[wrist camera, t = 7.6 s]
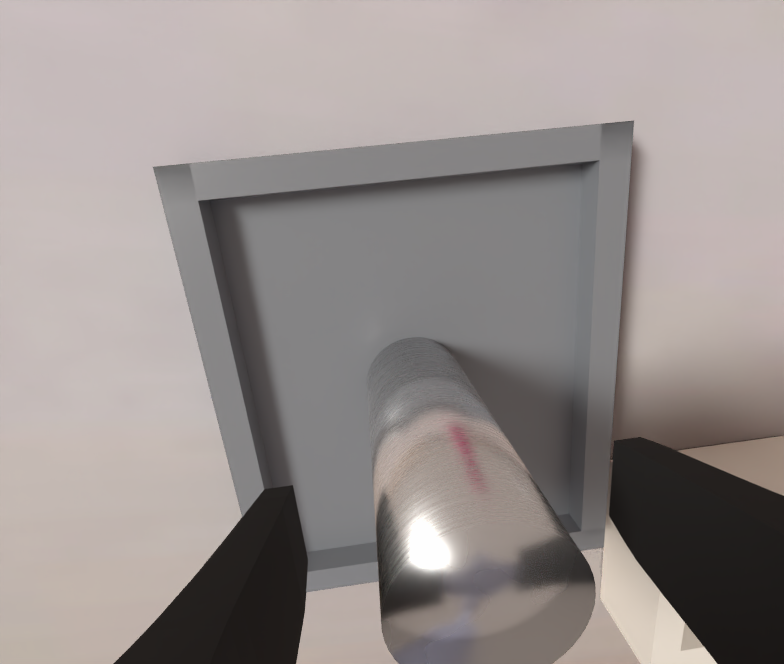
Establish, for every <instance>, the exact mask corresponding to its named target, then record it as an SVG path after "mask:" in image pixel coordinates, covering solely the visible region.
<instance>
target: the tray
mask: <svg viewBox="0 0 784 664" xmlns="http://www.w3.org/2000/svg"><path fill="white" fill-rule="evenodd" d="M633 127H634V121H626V122H615V123H605V124H595V125H584V126H574V127H563V128H553V129H543V130H532V131H522V132H511V133H501V134H491V135H480V136H470V137H459V138H449V139H439V140H428V141H418V142H407V143H397V144H387V145H376V146H366V147H355V148H345V149H335V150H324V151H314V152H304V153H293V154H283V155H272V156H262V157H252V158H241V159H231V160H220V161H210V162H200V163H189V164H179V165H168V166H158V167H153V169H154V173H155V176H156V180H157V184H158V188H159V192H160V196H161V200H162V204H163V208H164V212H165V216H166V220H167V224H168V228H169V231H170V235H171V239H172V243H173V247H174V251H175V255H176V259H177V263H178V267H179V271H180V275H181V279H182V283H183V286H184V290H185V294H186V298H187V302H188V306H189V310H190V314H191V318H192V322H193V326H194V330H195V334H196V337H197V341H198V345H199V349H200V353H201V357H202V361H203V365H204V369H205V373H206V377H207V381H208V385H209V389H210V392H211V396H212V400H213V404H214V408H215V412H216V416H217V420H218V424H219V428H220V432H221V436H222V440H223V443H224V447H225V451H226V455H227V459H228V463H229V467H230V471H231V475H232V479H233V483H234V487H235V491H236V495H237V498H238V502H239V506H240V510H241V514H242V517H243V516H244V514H245V513H246V512H247V510H248V509H249V508H250V507H251V505H252V504H253V503H254V501H255V500H256V499H257V498H258V497H259V495H260V494H261V493H262V492H263V490H264V489H269V488H276V487H283V486H290V485H293V488H294V493H295V498H296V503H297V508H298V513H299V518H300V522H301V527H302V532H303V537H304V542H305V547H306V552H307V557H308V570H307V587H306V592H311V591H317V590H324V589H331V588H337V587H344V586H351V585H357V584H364V583H370V582H377V581H379V576H378V559H377V542H376V526H375V509H374V493H373V476H372V460H371V443H370V427H369V410H368V394H367V376H368V372H369V369H370V366H371V364H372V362H373V360H374V359H375V358H376V356H377V355H378V354H379V353H380V352H381V351H382V350H383V349H384V348H385V347H387V346H388V345H390V344H392V343H394V342H396V341H398V340H401V339H405V338H411V337H422V338H428V339H431V340H434V341H436V342H438V343H440V344H442V345H443V346H445V347H446V348H447V349H448V350H449V351H450V352H451V353H452V354H453V356H454V357H455V359H456V360H457V362H458V363H459V365H460V366H461V368H462V369H463V371H464V372H465V374H466V376H467V377H468V379H469V380H470V382H471V383H472V385H473V386H474V388H475V389H476V391H477V393H478V394H479V396H480V397H481V399H482V400H483V402H484V403H485V405H486V406H487V408H488V409H489V411H490V413H491V414H492V416H493V417H494V419H495V420H496V422H497V423H498V425H499V426H500V428H501V430H502V431H503V433H504V434H505V436H506V437H507V439H508V440H509V442H510V443H511V445H512V446H513V448H514V450H515V451H516V453H517V454H518V456H519V457H520V459H521V460H522V462H523V463H524V465H525V466H526V468H527V470H528V471H529V473H530V474H531V476H532V477H533V479H534V480H535V482H536V483H537V485H538V487H539V488H540V490H541V491H542V493H543V494H544V496H545V497H546V499H547V500H548V502H549V503H550V505H551V507H552V508H553V510H554V511H555V513H556V514H557V516H558V517H559V519H560V520H561V522H562V524H563V525H564V527H565V528H566V530H567V531H568V533H569V534H570V536H571V537H572V539H573V540H574V542H575V544H576V545H577V547H578V548H579V550H580V551H582V550H589V549H595V548H602V547H604V539H605V525H606V510H607V496H608V482H609V468H610V453H611V439H612V425H613V411H614V397H615V382H616V368H617V354H618V340H619V326H620V311H621V297H622V283H623V269H624V254H625V240H626V226H627V212H628V198H629V183H630V169H631V155H632V141H633Z"/></svg>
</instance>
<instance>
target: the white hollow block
mask: <svg viewBox="0 0 784 664" xmlns="http://www.w3.org/2000/svg"><path fill="white" fill-rule="evenodd" d="M678 452H680V453H683V454H685V455H688V456H690V457H692V458H695V459H697V460H699V461H702V462H704V463H706V464H709V465H711V466H713V467H716V468H718V469H721V470H723V471H725V472H728V473H730V474H732V475H735V476H737V477H739V478H742V479H744V480H747V481H749V482H751V483H754V484H756V485H759V486H761V487H763V488H766V489H768V490H771V491H773V492H776V493H778V494H781V495H783V496H784V436H778V437H771V438H764V439H756V440H749V441H742V442H735V443H728V444H721V445H714V446H706V447H699V448H692V449H685V450H678ZM612 464H613V460H610V468H609V482H608V496H607V510H606V525H605V539H604V550H603V564H602V578H601V593H600V599H601V601H602V602H603V604H604V606H605V607H606V609H607V610H608V612H609V614H610V615H611V617H612V618H613V620H614V622H615V623H616V625H617V626H618V628H619V630H620V631H621V633H622V634H623V636H624V638H625V639H626V641H627V642H628V644H629V646H630V647H631V649H632V650H633V652H634V654H635V655H636V657H637V658H638V660H639V662H640V663H641V664H717V663H716V661H715V660H714V659H713V658H712V656H711V655H710V654H709V652H708V651H707V650H706V649H705V647H704V646H703V645H702V644H701V642H700V641H699V640H698V639H697V637H696V636H695V635H694V634H693V632H692V631H691V630H690V628H689V627H688V626H687V625H686V623H685V622H684V621H683V620H682V618H681V617H680V616H679V615H678V613H677V612H676V611H675V609H674V608H673V607H672V606H671V604H670V603H669V602H668V601H667V599H666V598H665V597H664V596H663V594H662V593H661V592H660V590H659V589H658V588H657V587H656V585H655V584H654V583H653V581H652V580H651V579H650V578H649V576H648V575H647V574H646V572H645V571H644V570H643V568H642V567H641V566H640V565H639V563H638V562H637V561H636V559H635V558H634V556H633V554H632V553H631V551H630V550H629V548H628V547H627V545H626V543H625V542H624V540H623V539H622V537H621V535H620V534H619V532H618V530H617V528H616V527H615V525H614V523H613V522H612V520H611V518H610V517H609V507H610V492H611V478H612Z"/></svg>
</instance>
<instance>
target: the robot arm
mask: <svg viewBox="0 0 784 664" xmlns="http://www.w3.org/2000/svg"><path fill="white" fill-rule="evenodd" d="M609 517H610V518H611V520H612V522H613V523H614V525H615V527H616V528H617V530H618V532H619V534H620V535H621V537H622V539H623V540H624V542H625V543H626V545H627V547H628V548H629V550H630V551H631V553H632V554H633V556H634V558H635V559H636V561H637V562H638V563H639V565H640V566H641V567H642V568H643V570H644V571H645V572H646V574H647V575H648V576H649V578H650V579H651V580H652V581H653V583H654V584H655V585H656V587H657V588H658V589H659V590H660V592H661V593H662V594H663V596H664V597H665V598H666V599H667V601H668V602H669V603H670V604H671V606H672V607H673V608H674V609H675V611H676V612H677V613H678V615H679V616H680V617H681V618H682V620H683V621H684V622H685V623H686V625H687V626H688V627H689V628H690V630H691V631H692V632H693V634H694V635H695V636H696V637H697V639H698V640H699V641H700V642H701V644H702V645H703V646H704V647H705V649H706V650H707V651H708V652H709V654H710V655H711V656H712V658H713V659H714V660H715V661H716V663H717V664H784V496H783V495H781V494H778V493H776V492H773V491H771V490H768V489H766V488H763V487H761V486H759V485H756V484H754V483H751V482H749V481H747V480H744V479H742V478H739V477H737V476H735V475H732V474H730V473H728V472H725V471H723V470H721V469H718V468H716V467H713V466H711V465H709V464H706V463H704V462H702V461H699V460H697V459H695V458H692V457H690V456H688V455H685V454H683V453H680V452H678V451H676V450H673V449H671V448H668V447H666V446H663V445H661V444H658V443H655V442H653V441H650V440H647V439H644V438H641V437H638V438H631V439H624V440H617V441H614V450H613V464H612V478H611V492H610V507H609ZM307 570H308V557H307V552H306V547H305V542H304V537H303V532H302V527H301V522H300V518H299V513H298V508H297V503H296V498H295V493H294V488H293V485H290V486H283V487H276V488H269V489H264V490H263V492H262V493H261V494H260V495H259V497H258V498H257V499H256V500H255V501H254V503H253V504H252V505H251V507H250V508H249V509H248V510H247V512H246V513H245V514H244V516H243V517H242V518H241V519H240V521H239V522H238V523H237V525H236V526H235V527H234V528H233V530H232V531H231V532H230V534H229V535H228V536H227V537H226V539H225V540H224V541H223V542H222V544H221V545H220V546H219V547H218V548H217V550H216V551H215V552H214V553H213V555H212V556H211V557H210V558H209V559H208V561H207V562H206V563H205V564H204V566H203V567H202V568H201V569H200V571H199V572H198V573H197V574H196V575H195V576H194V578H193V579H192V580H191V581H190V582H189V583H188V585H187V586H186V587H185V588H184V589H183V590H182V591H181V592H180V594H179V595H178V596H177V597H176V598H175V599H174V600H173V602H172V603H171V604H170V605H169V606H168V607H167V608H166V609H165V611H164V612H163V613H162V614H161V615H160V616H159V617H158V618H157V620H156V621H155V622H154V623H153V624H152V625H151V626H150V627H149V628H148V629H147V630H146V631H145V632H144V633H143V634H142V635H141V636H140V638H139V639H138V640H137V641H136V642H135V643H134V644H133V645H132V646H131V647H130V648H129V649H128V650H127V651H126V652H125V653H124V654H123V655H122V656H121V657H120V658H119V659H118V660H117V661H116V662H115V663H114V664H296V660H297V654H298V648H299V643H300V637H301V631H302V625H303V619H304V612H305V601H306V587H307Z"/></svg>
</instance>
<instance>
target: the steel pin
mask: <svg viewBox="0 0 784 664" xmlns="http://www.w3.org/2000/svg"><path fill="white" fill-rule="evenodd" d="M367 394H368V410H369V427H370V443H371V460H372V476H373V493H374V509H375V526H376V542H377V559H378V576H379V592H380V609H381V624H382V633H383V637H384V641H385V643H386V645H387V647H388V650H389V651H390V653H391V654H392V656H393V657H394V659H395V660H396V661H397V662H398V663H399V664H552V663H554V662H555V661H556V660H558V659H559V658H560V657H561V656H563V655H564V654H565V653H566V652H567V651H568V650H569V649H570V648H571V647H572V646H573V645H574V643H575V642H576V641H577V640H578V639H579V637H580V636H581V634H582V633H583V631H584V630H585V628H586V626H587V624H588V622H589V620H590V618H591V615H592V611H593V608H594V603H595V596H596V593H595V581H594V577H593V573H592V571H591V568H590V566H589V564H588V562H587V561H586V559H585V557H584V556H583V554H582V553H581V551H580V550H579V548H578V547H577V545H576V544H575V542H574V540H573V539H572V537H571V536H570V534H569V533H568V531H567V530H566V528H565V527H564V525H563V524H562V522H561V520H560V519H559V517H558V516H557V514H556V513H555V511H554V510H553V508H552V507H551V505H550V503H549V502H548V500H547V499H546V497H545V496H544V494H543V493H542V491H541V490H540V488H539V487H538V485H537V483H536V482H535V480H534V479H533V477H532V476H531V474H530V473H529V471H528V470H527V468H526V466H525V465H524V463H523V462H522V460H521V459H520V457H519V456H518V454H517V453H516V451H515V450H514V448H513V446H512V445H511V443H510V442H509V440H508V439H507V437H506V436H505V434H504V433H503V431H502V430H501V428H500V426H499V425H498V423H497V422H496V420H495V419H494V417H493V416H492V414H491V413H490V411H489V409H488V408H487V406H486V405H485V403H484V402H483V400H482V399H481V397H480V396H479V394H478V393H477V391H476V389H475V388H474V386H473V385H472V383H471V382H470V380H469V379H468V377H467V376H466V374H465V372H464V371H463V369H462V368H461V366H460V365H459V363H458V362H457V360H456V359H455V357H454V356H453V354H452V353H451V352H450V351H449V350H448V349H447V348H446V347H445V346H443V345H442V344H440V343H438V342H436V341H434V340H431V339H428V338H422V337H411V338H405V339H401V340H398V341H396V342H394V343H392V344H390V345H388V346H387V347H385V348H384V349H383V350H382V351H381V352H380V353H379V354H378V355H377V356H376V358H375V359H374V360H373V362H372V364H371V366H370V369H369V372H368V376H367Z"/></svg>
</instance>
